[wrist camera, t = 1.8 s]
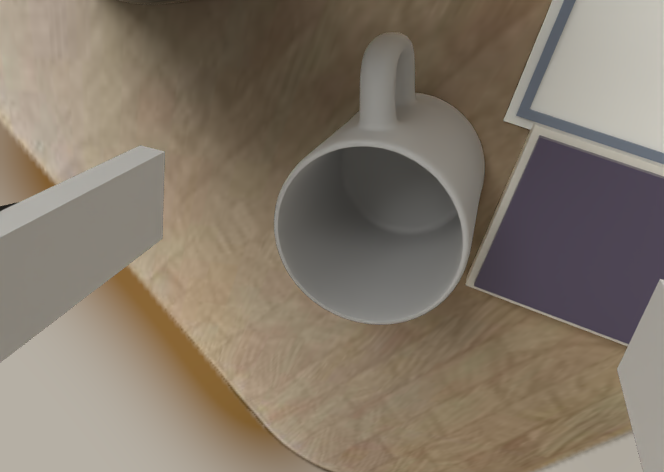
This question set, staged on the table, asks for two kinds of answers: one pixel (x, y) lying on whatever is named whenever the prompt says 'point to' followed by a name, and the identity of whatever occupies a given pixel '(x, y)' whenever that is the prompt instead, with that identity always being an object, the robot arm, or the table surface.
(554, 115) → the print card
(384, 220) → the mug
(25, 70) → the table surface
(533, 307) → the ink pad
